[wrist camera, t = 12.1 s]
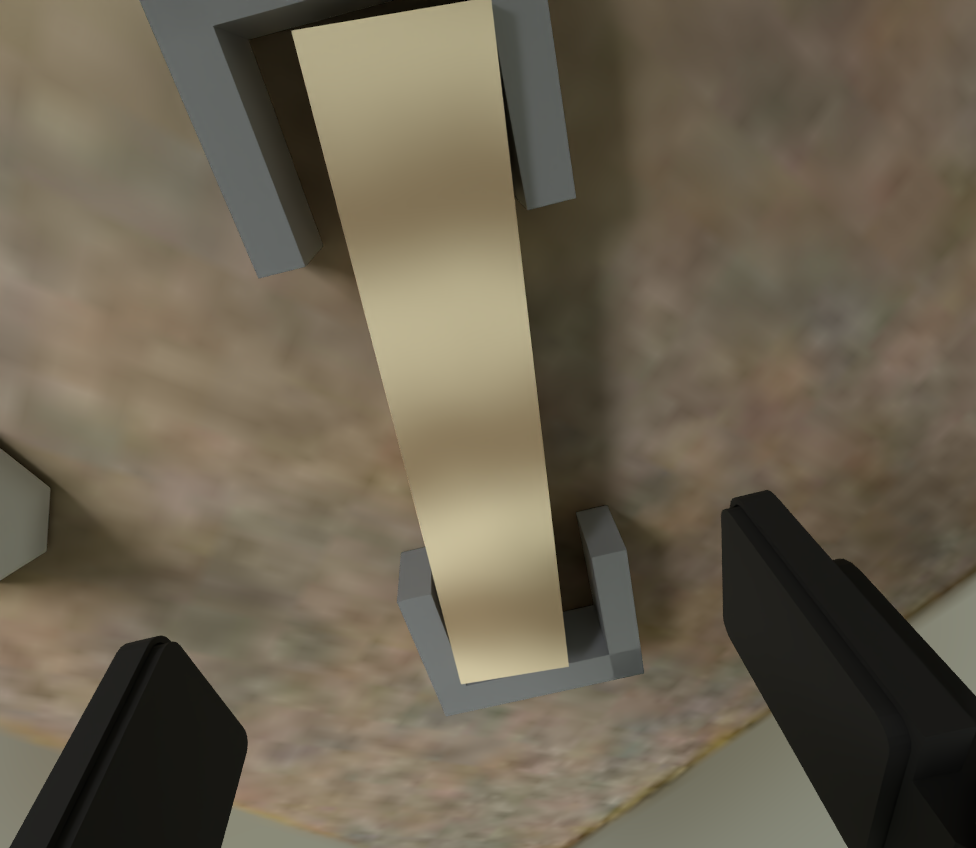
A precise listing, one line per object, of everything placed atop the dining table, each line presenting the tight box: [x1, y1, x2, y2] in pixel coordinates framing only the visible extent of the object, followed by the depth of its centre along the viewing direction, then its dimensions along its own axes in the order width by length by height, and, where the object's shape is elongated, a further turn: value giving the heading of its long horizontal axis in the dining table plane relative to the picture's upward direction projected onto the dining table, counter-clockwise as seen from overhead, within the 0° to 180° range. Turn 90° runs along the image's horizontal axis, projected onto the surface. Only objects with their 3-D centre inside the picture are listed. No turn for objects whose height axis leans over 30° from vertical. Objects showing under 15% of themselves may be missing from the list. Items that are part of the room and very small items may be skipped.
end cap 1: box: [140, 0, 576, 278], centre depth 13 cm, size 6×8×2 cm
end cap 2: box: [397, 505, 644, 716], centre depth 22 cm, size 6×8×2 cm
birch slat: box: [291, 0, 569, 684], centre depth 18 cm, size 20×4×4 cm, turn 8°
